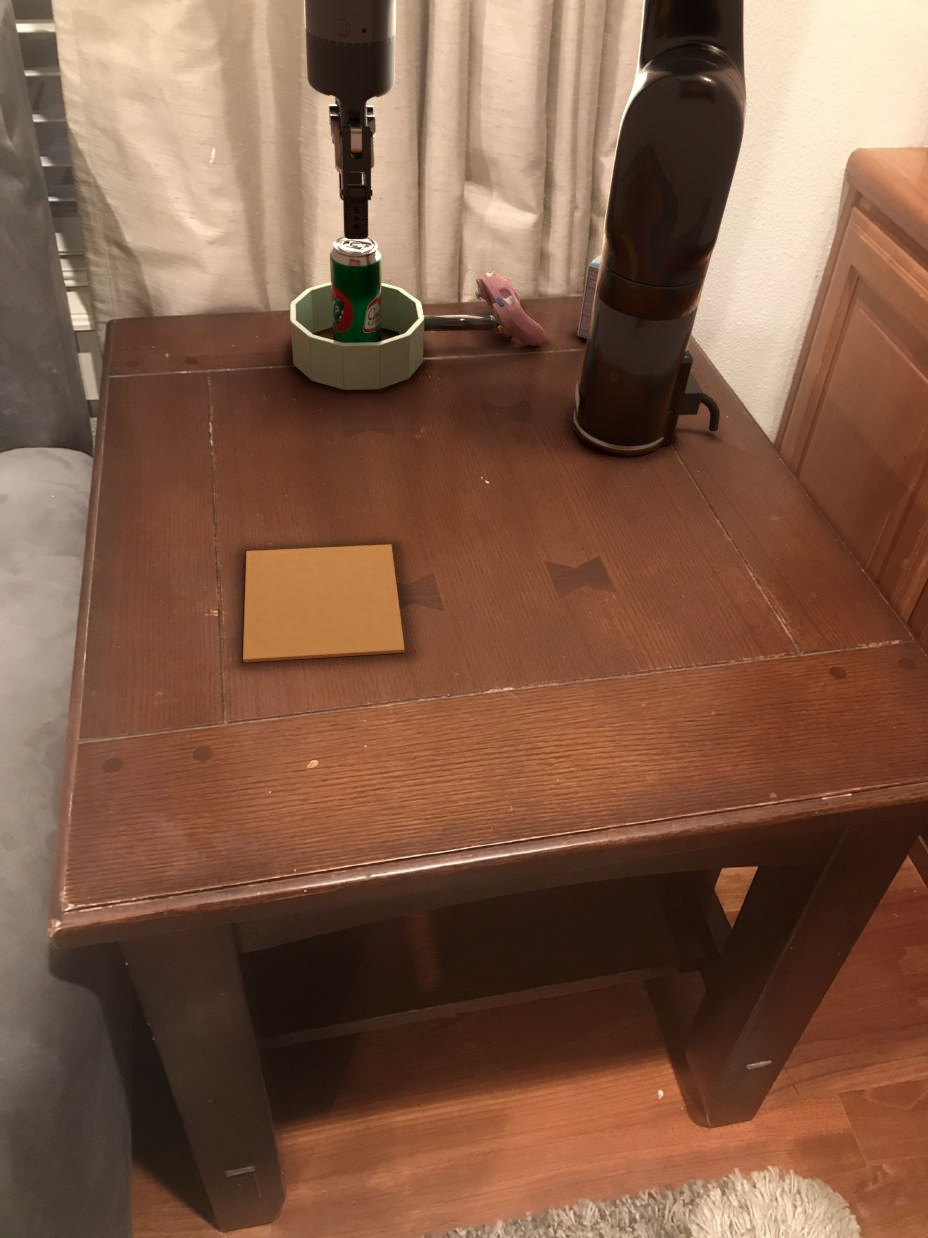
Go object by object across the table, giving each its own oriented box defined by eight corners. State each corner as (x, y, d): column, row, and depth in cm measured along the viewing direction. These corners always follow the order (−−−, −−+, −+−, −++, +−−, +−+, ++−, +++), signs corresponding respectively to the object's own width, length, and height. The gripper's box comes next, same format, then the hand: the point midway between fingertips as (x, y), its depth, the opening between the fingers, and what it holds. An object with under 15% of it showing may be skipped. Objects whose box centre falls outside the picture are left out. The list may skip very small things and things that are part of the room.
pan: (485, 320, 108) (488, 278, 105) (504, 386, 99) (509, 342, 95) (292, 322, 105) (289, 280, 102) (294, 391, 96) (290, 346, 92)
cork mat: (391, 547, 80) (391, 544, 80) (404, 652, 72) (404, 649, 72) (246, 554, 79) (246, 550, 79) (243, 662, 71) (242, 659, 70)
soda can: (374, 370, 99) (373, 259, 91) (327, 362, 100) (322, 251, 91) (386, 346, 103) (387, 237, 94) (341, 338, 103) (338, 229, 95)
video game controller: (485, 319, 111) (463, 270, 106) (519, 299, 111) (499, 249, 106) (513, 363, 105) (491, 314, 100) (550, 343, 104) (529, 292, 99)
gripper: (403, 52, 75) (399, 252, 87) (388, 2, 85) (386, 187, 96) (307, 49, 74) (316, 252, 86) (303, -2, 84) (311, 186, 95)
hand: (353, 217), depth 91 cm, fingers open, 8 cm apart
